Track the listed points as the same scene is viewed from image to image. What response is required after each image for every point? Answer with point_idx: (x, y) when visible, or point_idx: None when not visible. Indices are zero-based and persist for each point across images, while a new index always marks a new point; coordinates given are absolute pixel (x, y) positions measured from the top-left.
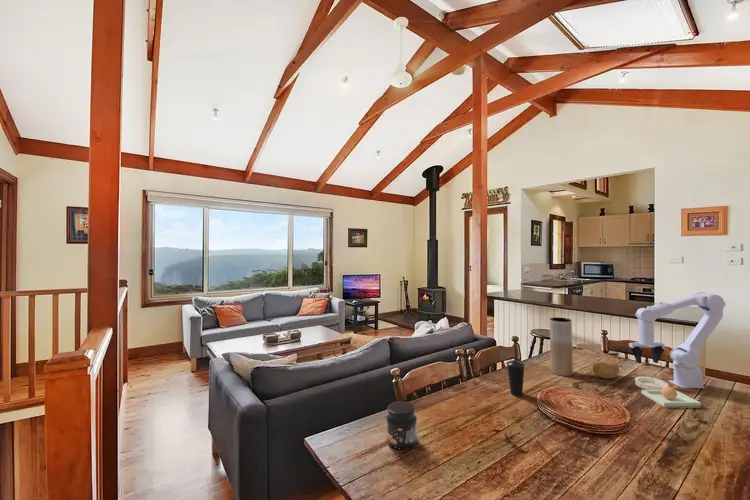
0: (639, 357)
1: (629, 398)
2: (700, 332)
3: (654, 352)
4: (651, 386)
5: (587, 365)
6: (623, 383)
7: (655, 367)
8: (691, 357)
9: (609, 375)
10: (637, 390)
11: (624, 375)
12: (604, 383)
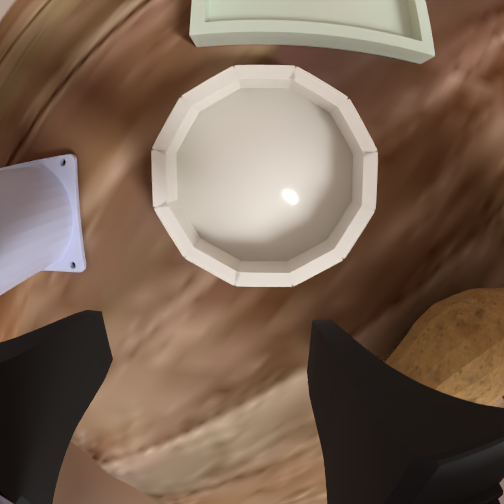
0: (372, 359)
1: (493, 47)
2: None
3: (39, 430)
4: (331, 89)
5: None
6: (412, 245)
7: None
8: None
9: (487, 288)
10: (407, 122)
11: (298, 376)
12: (500, 248)
